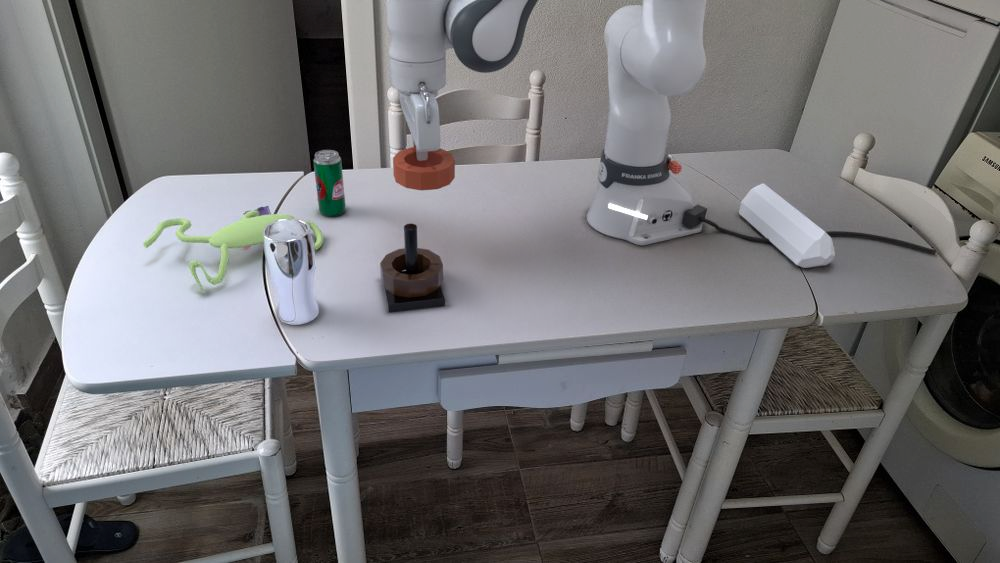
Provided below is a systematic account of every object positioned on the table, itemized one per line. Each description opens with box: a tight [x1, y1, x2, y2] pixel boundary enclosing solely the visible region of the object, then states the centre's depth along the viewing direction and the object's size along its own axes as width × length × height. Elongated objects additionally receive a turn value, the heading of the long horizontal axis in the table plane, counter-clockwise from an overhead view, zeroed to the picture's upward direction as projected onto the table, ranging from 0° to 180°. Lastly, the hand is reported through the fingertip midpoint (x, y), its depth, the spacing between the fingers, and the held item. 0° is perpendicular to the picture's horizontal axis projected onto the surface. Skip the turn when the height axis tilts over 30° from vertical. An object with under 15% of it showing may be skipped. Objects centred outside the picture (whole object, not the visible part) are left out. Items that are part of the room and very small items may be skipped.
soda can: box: [312, 149, 347, 218], centre depth 130 cm, size 5×5×12 cm
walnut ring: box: [379, 247, 444, 298], centre depth 112 cm, size 10×10×3 cm
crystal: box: [738, 182, 836, 269], centre depth 131 cm, size 7×7×24 cm
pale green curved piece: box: [142, 205, 324, 295], centre depth 119 cm, size 18×27×6 cm
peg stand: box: [382, 223, 446, 313], centre depth 109 cm, size 9×9×12 cm
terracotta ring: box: [392, 146, 456, 191], centre depth 113 cm, size 10×10×3 cm
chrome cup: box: [262, 218, 320, 326], centre depth 102 cm, size 7×7×15 cm
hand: (420, 154), depth 116 cm, fingers closed on terracotta ring, 2 cm apart
